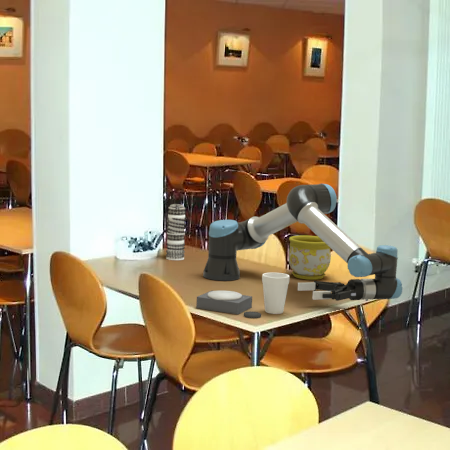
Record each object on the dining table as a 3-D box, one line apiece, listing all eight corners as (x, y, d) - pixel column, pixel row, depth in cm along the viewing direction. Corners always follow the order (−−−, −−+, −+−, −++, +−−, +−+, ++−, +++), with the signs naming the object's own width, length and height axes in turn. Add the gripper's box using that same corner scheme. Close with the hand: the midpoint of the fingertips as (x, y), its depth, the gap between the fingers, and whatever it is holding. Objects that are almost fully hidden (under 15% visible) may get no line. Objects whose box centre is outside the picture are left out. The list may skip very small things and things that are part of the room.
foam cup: (285, 316, 283) (287, 279, 281) (258, 313, 285) (260, 276, 283) (288, 309, 292) (290, 273, 290) (263, 307, 294) (264, 271, 292)
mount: (196, 307, 289) (196, 294, 288) (211, 301, 300) (211, 288, 299) (237, 314, 282) (238, 300, 282) (251, 307, 293) (252, 294, 292)
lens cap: (240, 317, 280) (240, 314, 279) (247, 313, 285) (248, 310, 285) (256, 320, 277) (257, 316, 277) (263, 316, 282) (263, 313, 282)
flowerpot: (278, 275, 349) (280, 237, 347) (303, 270, 362) (306, 234, 360) (313, 283, 337) (315, 243, 335) (337, 277, 351) (340, 239, 348)
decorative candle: (189, 258, 380) (191, 204, 376) (177, 261, 372) (179, 206, 368) (172, 255, 384) (174, 202, 380) (161, 258, 376) (162, 204, 373)
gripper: (375, 308, 284) (318, 310, 278) (344, 291, 308) (291, 293, 301) (377, 287, 283) (320, 288, 277) (346, 272, 306) (292, 273, 300)
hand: (305, 291), depth 289 cm, fingers open, 13 cm apart
